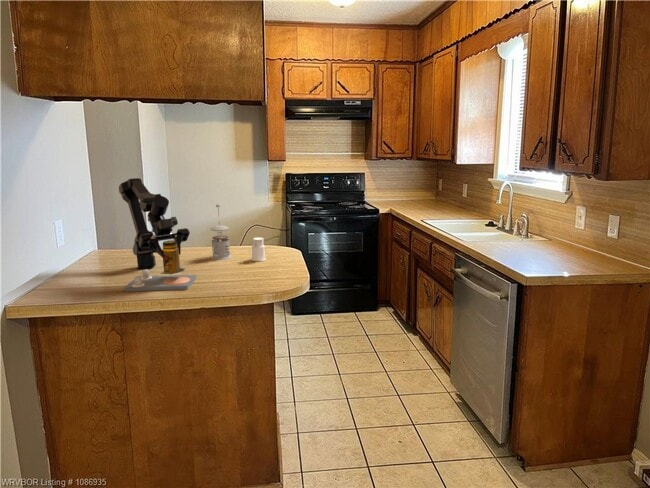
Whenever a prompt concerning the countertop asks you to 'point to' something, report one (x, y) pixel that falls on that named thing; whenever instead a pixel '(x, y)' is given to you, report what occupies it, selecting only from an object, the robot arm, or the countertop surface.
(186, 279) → the board
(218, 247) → the french press
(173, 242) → the condiment
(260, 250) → the downlight
